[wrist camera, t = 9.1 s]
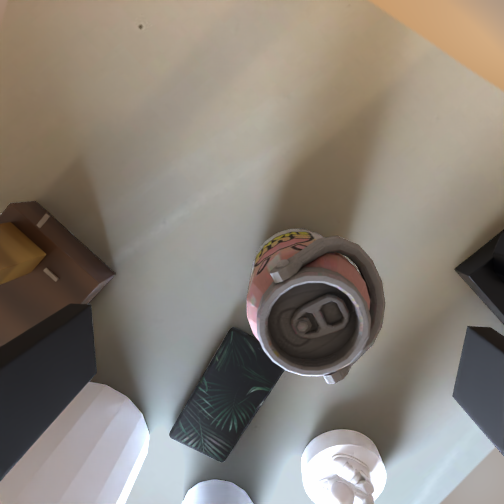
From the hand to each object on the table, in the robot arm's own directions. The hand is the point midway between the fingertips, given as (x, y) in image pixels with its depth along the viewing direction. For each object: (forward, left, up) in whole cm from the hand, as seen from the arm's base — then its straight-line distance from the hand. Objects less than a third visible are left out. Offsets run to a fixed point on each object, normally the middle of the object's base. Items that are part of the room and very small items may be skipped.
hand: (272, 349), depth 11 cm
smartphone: (+14, +9, -19) cm, 25 cm away
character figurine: (+11, +24, -19) cm, 32 cm away
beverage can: (-1, +4, -19) cm, 19 cm away
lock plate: (+20, -13, -19) cm, 30 cm away
